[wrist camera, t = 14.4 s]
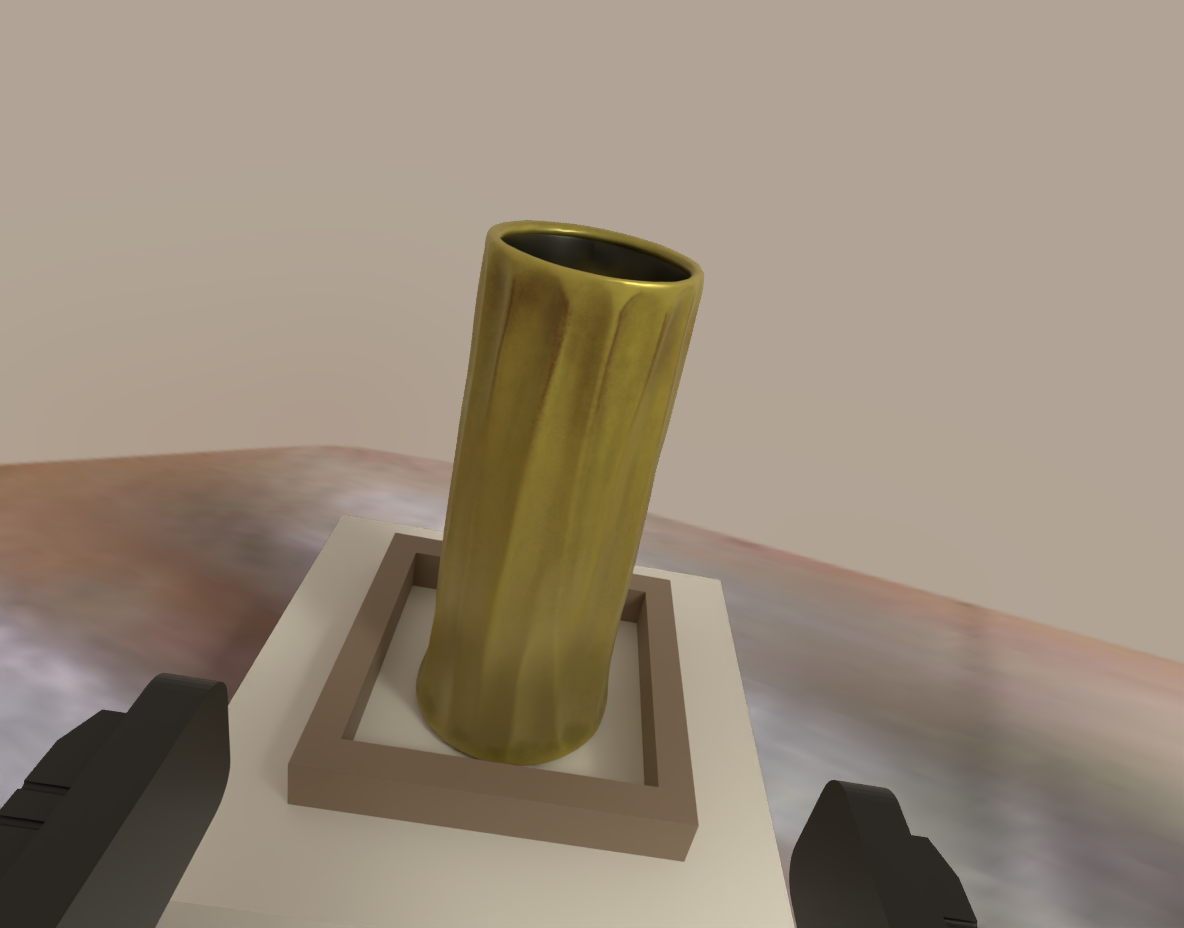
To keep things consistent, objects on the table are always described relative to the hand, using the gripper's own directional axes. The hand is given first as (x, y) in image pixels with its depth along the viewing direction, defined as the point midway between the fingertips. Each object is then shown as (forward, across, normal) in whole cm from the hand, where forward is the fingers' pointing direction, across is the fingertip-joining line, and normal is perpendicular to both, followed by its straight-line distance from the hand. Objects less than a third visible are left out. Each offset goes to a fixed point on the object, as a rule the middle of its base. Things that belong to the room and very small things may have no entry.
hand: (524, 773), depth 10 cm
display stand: (+11, 0, +14) cm, 18 cm away
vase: (+11, 0, +10) cm, 15 cm away
